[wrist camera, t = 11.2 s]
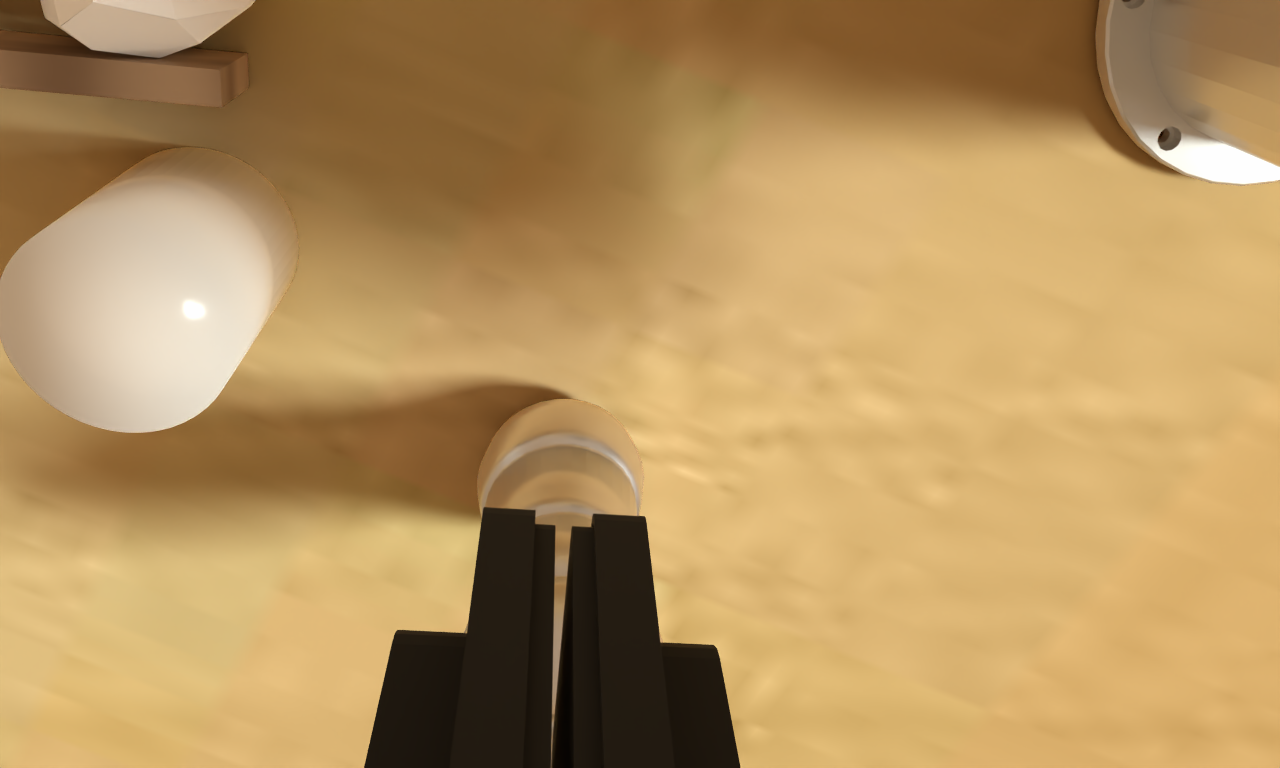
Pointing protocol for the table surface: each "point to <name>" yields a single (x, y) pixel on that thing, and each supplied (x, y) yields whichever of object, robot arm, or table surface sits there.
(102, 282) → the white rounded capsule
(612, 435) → the plastic bottle
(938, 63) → the table surface
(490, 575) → the robot arm
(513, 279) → the table surface
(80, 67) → the tray
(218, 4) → the white chamfered bar
